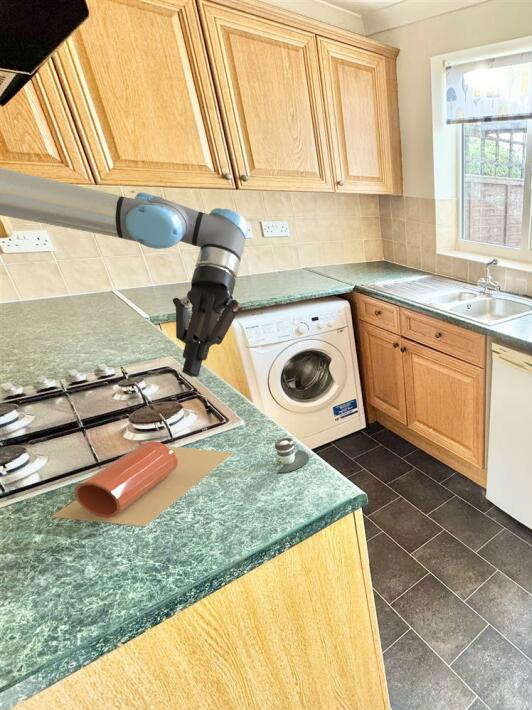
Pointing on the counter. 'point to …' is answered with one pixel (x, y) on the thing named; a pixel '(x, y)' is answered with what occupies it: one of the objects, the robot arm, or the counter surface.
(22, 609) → the counter surface
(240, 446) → the counter surface
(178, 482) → the mat
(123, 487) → the tumbler
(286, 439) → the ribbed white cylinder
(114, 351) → the counter surface
